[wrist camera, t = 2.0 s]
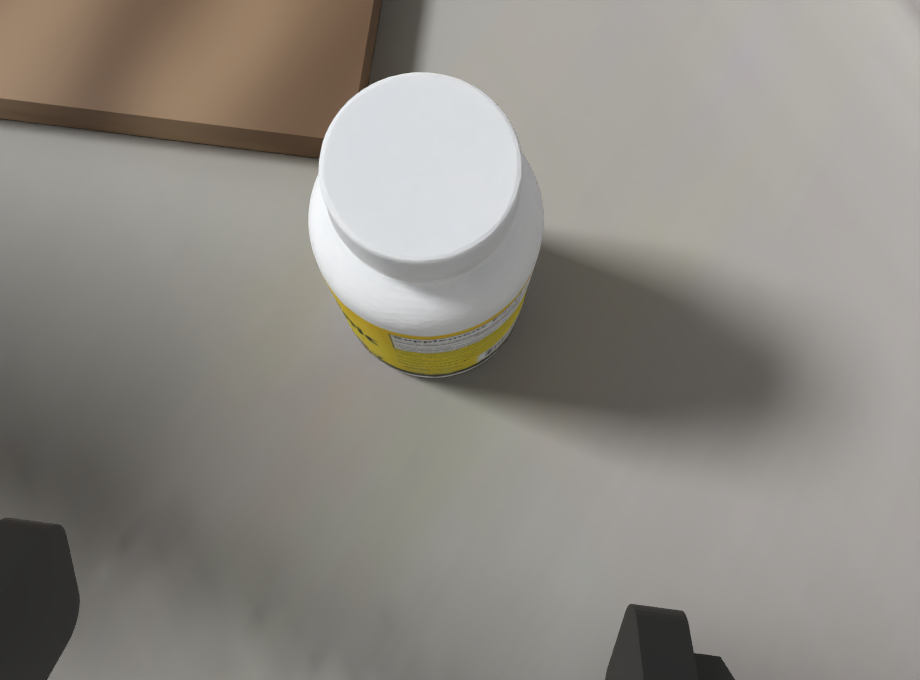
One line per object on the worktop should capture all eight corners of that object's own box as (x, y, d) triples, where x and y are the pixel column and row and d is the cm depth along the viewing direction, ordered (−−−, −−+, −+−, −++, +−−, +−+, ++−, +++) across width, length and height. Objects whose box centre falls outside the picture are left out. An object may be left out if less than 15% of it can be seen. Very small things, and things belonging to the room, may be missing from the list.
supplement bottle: (334, 224, 26) (269, 52, 16) (505, 201, 26) (538, 18, 17) (355, 394, 25) (298, 316, 15) (533, 368, 25) (587, 275, 16)
